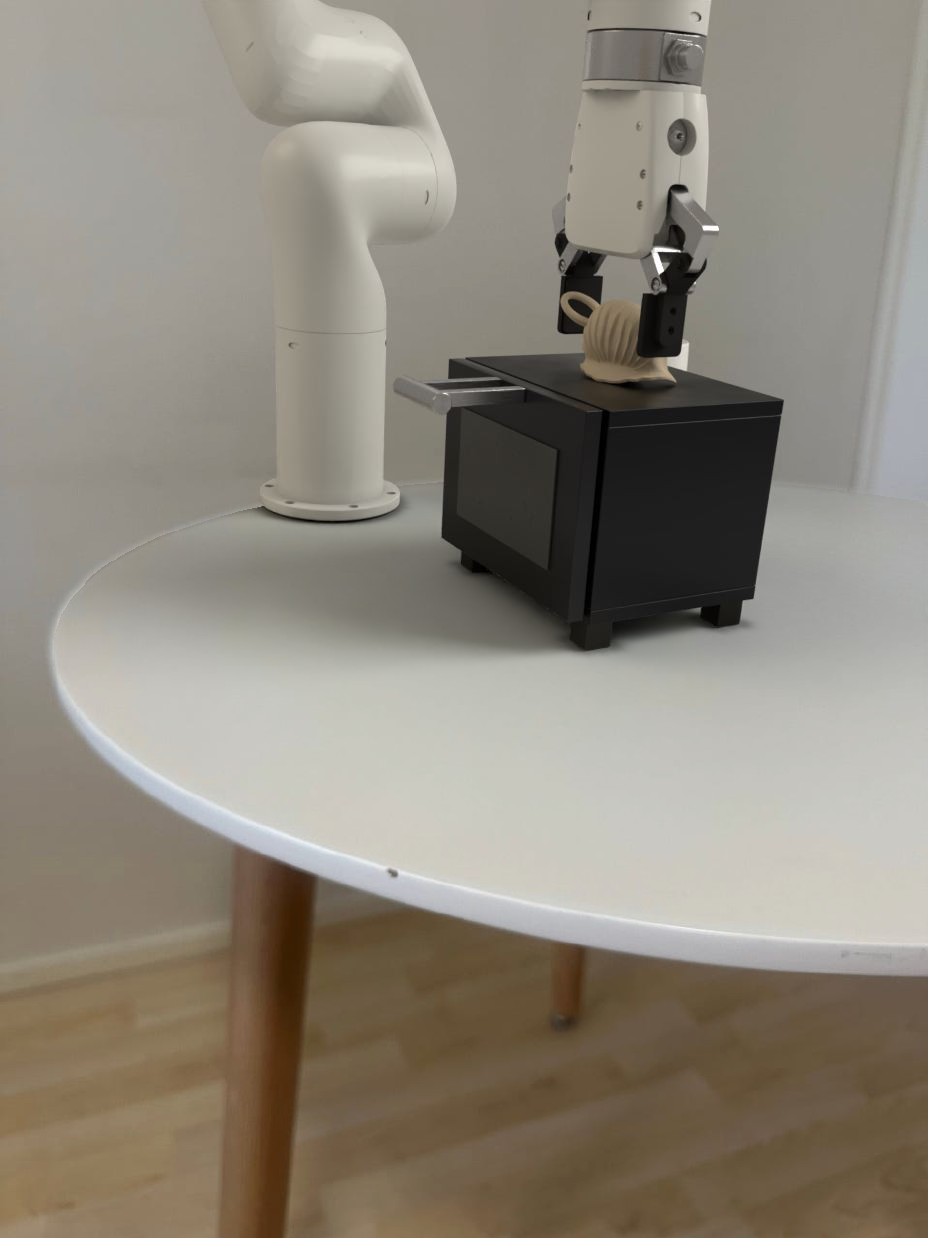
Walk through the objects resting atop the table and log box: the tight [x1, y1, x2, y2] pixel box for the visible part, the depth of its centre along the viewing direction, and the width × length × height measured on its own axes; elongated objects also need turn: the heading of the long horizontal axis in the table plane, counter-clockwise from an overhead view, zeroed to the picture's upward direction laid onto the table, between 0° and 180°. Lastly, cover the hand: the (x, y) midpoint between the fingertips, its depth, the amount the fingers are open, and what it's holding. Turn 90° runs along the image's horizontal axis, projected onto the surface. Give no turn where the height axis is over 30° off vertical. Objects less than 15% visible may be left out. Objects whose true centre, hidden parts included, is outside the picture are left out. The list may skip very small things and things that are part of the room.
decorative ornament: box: [561, 292, 676, 383], centre depth 79 cm, size 4×8×5 cm, turn 44°
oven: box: [460, 352, 785, 651], centre depth 83 cm, size 14×19×16 cm
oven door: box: [392, 357, 603, 624], centre depth 78 cm, size 8×18×14 cm, turn 27°
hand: (615, 344), depth 79 cm, fingers open, 9 cm apart
